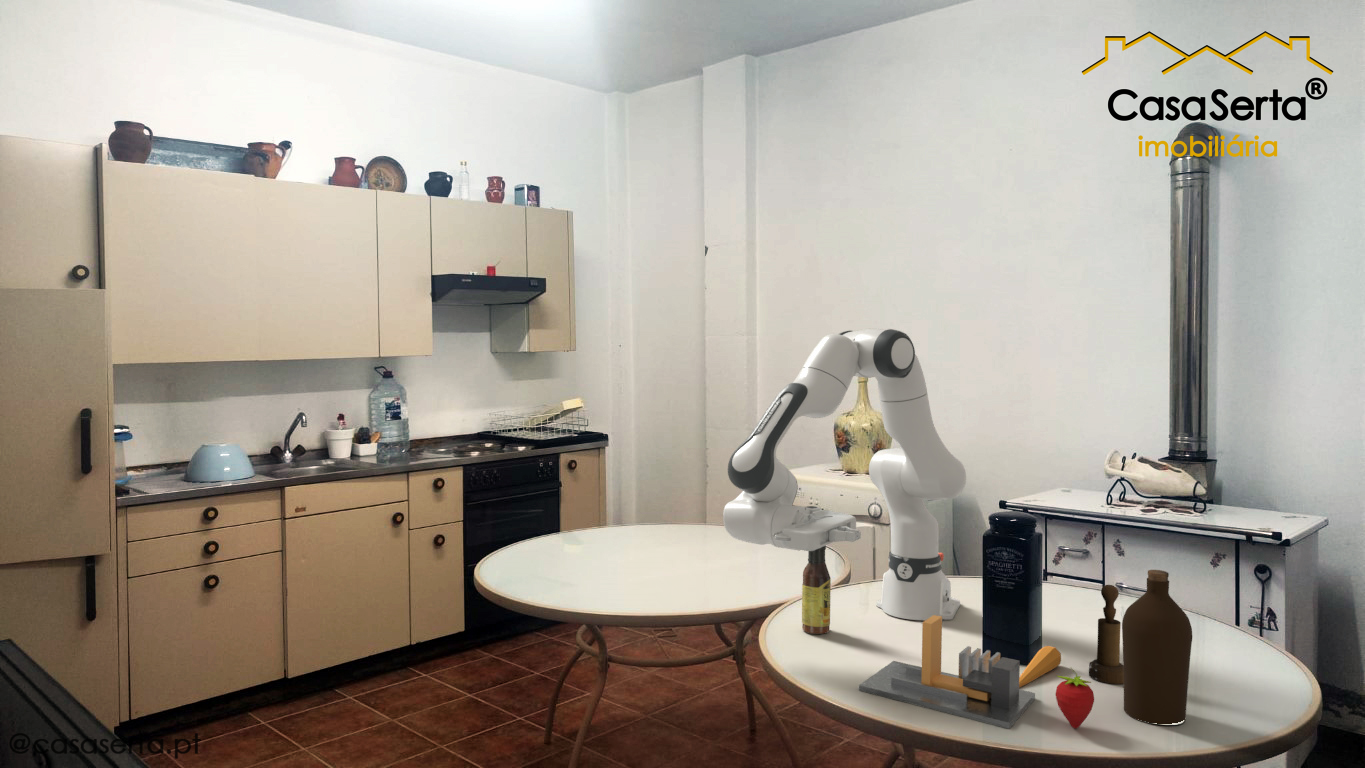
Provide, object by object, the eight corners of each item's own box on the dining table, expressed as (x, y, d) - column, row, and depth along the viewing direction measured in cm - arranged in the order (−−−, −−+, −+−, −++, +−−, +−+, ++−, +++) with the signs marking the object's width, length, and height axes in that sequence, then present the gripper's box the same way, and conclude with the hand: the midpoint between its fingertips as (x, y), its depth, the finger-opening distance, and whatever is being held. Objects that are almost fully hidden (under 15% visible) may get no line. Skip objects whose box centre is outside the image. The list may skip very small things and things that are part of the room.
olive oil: (1142, 728, 145) (1146, 580, 144) (1107, 703, 156) (1111, 564, 155) (1203, 727, 146) (1208, 579, 145) (1165, 702, 156) (1169, 564, 155)
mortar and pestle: (1128, 676, 169) (1130, 584, 168) (1125, 687, 163) (1128, 591, 163) (1090, 669, 172) (1092, 579, 172) (1087, 680, 167) (1089, 586, 166)
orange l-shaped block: (932, 678, 163) (933, 614, 163) (995, 693, 156) (996, 626, 156) (921, 687, 159) (922, 622, 158) (985, 702, 152) (987, 634, 152)
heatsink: (893, 665, 173) (894, 625, 173) (1035, 698, 157) (1036, 654, 157) (858, 690, 161) (859, 647, 160) (1009, 728, 145) (1010, 681, 144)
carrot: (1047, 666, 176) (1038, 644, 177) (1068, 663, 173) (1059, 641, 174) (1005, 704, 162) (995, 680, 163) (1027, 701, 159) (1017, 677, 160)
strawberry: (1051, 732, 143) (1053, 672, 143) (1057, 716, 150) (1058, 658, 150) (1091, 740, 140) (1093, 679, 140) (1095, 723, 147) (1096, 665, 147)
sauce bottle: (829, 636, 191) (830, 546, 190) (800, 634, 192) (801, 545, 192) (830, 627, 197) (831, 540, 197) (802, 625, 199) (803, 539, 198)
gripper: (768, 521, 168) (833, 529, 160) (817, 504, 185) (878, 511, 177) (768, 553, 169) (833, 563, 161) (817, 534, 185) (878, 542, 177)
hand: (857, 536), depth 169 cm, fingers closed
